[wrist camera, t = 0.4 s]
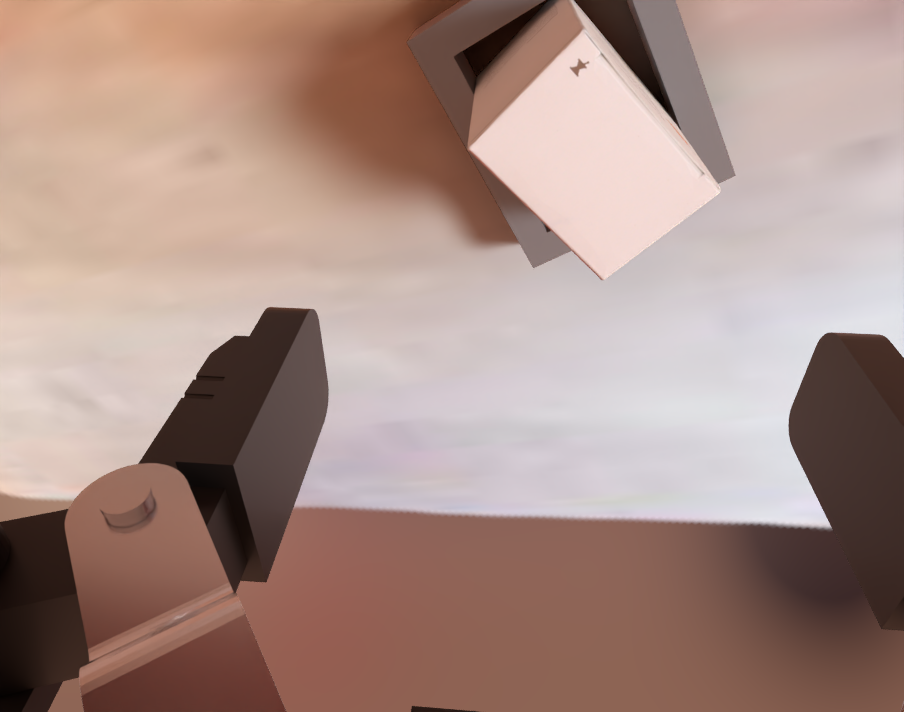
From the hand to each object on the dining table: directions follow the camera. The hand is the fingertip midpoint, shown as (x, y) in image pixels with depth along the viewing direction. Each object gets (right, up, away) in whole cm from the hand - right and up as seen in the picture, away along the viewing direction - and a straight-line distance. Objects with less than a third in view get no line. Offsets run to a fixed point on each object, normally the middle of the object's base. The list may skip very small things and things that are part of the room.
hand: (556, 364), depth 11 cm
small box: (+4, +13, +21) cm, 25 cm away
